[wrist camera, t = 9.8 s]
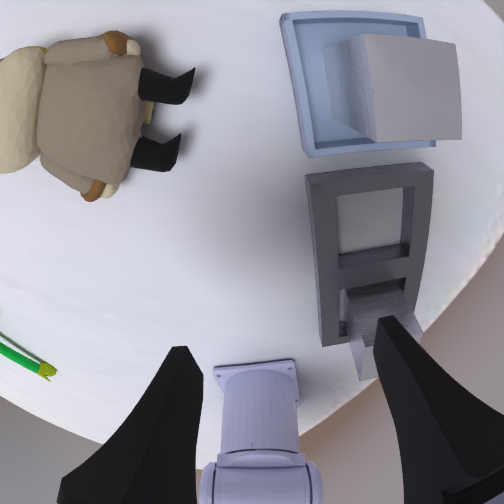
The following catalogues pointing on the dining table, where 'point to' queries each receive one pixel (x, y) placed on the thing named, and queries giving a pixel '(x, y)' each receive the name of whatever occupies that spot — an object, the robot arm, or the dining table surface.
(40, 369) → the toy
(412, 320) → the grey rectangular block
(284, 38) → the tray
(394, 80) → the light grey block
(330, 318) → the dark grey rectangular frame
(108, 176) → the toy
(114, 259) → the dining table surface
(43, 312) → the dining table surface
